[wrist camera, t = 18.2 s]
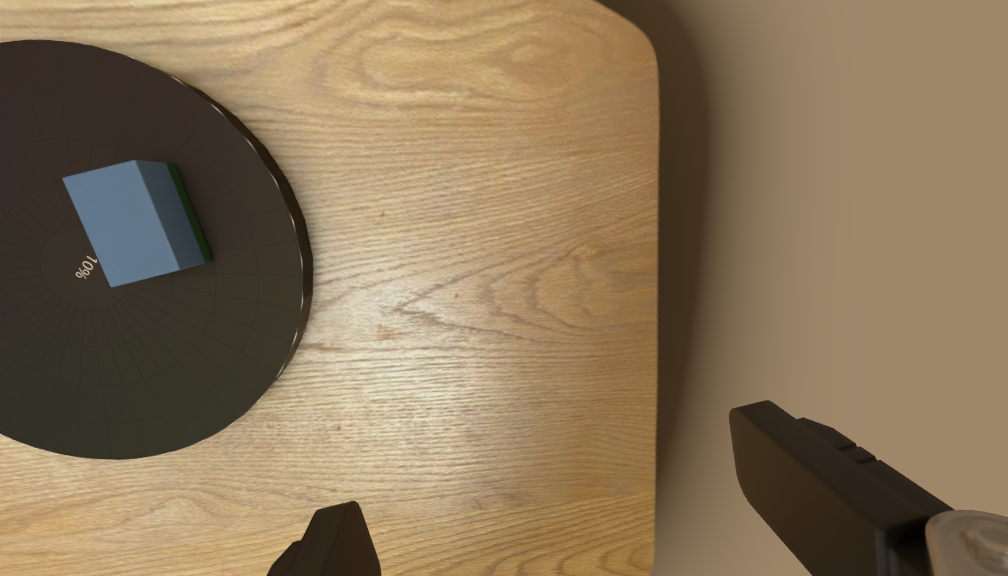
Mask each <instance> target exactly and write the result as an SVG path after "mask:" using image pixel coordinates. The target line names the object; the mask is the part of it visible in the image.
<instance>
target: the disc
mask: <svg viewBox="0 0 1008 576" xmlns="http://www.w3.org/2000/svg"><path fill="white" fill-rule="evenodd" d="M131 160H142V161H152V162H163V163H175V165H176V167H177V170H178V172H179V175H180V177H181V180H182V182H183V185H184V188H185V190H186V193H187V195H188V198H189V200H190V203H191V205H192V208H193V211H194V213H195V216H196V218H197V221H198V223H199V226H200V228H201V231H202V234H203V236H204V239H205V241H206V244H207V246H208V249H209V251H210V254H211V257H212V259H213V261H212V262H208V263H204V264H200V265H197V266H193V267H190V268H186V269H182V270H178V271H175V272H171V273H167V274H163V275H159V276H155V277H151V278H147V279H143V280H139V281H135V282H132V283H128V284H124V285H120V286H116V287H111V286H110V284H109V282H108V280H107V278H106V275H105V273H104V271H103V269H102V266H101V264H100V262H99V260H98V257H97V255H96V253H95V251H94V248H93V246H92V244H91V242H90V240H89V237H88V235H87V233H86V231H85V228H84V226H83V224H82V222H81V219H80V217H79V215H78V213H77V210H76V208H75V206H74V204H73V201H72V199H71V197H70V195H69V192H68V190H67V188H66V186H65V183H64V181H63V178H64V177H67V176H71V175H75V174H79V173H83V172H87V171H91V170H95V169H99V168H103V167H107V166H111V165H115V164H119V163H123V162H127V161H131ZM312 296H313V257H312V252H311V248H310V243H309V238H308V233H307V229H306V224H305V220H304V217H303V215H302V213H301V210H300V208H299V205H298V203H297V201H296V198H295V196H294V194H293V191H292V189H291V186H290V184H289V182H288V181H287V179H286V178H285V176H284V175H283V173H282V172H281V170H280V169H279V167H278V166H277V164H276V163H275V161H274V159H273V158H272V156H271V155H270V153H269V152H268V150H267V149H266V148H265V147H264V146H263V144H262V143H261V142H260V141H259V140H258V139H257V138H256V137H255V136H254V135H253V134H252V133H251V132H250V131H249V130H248V129H247V128H246V127H245V125H244V124H243V123H242V122H241V121H240V120H239V119H238V118H237V117H236V116H235V115H233V114H232V113H231V112H229V111H228V110H226V109H225V108H224V107H222V106H221V105H220V104H218V103H217V102H216V101H214V100H213V99H212V98H210V97H209V96H208V95H206V94H205V93H204V92H202V91H201V90H199V89H197V88H195V87H193V86H191V85H189V84H187V83H185V82H183V81H181V80H179V79H177V78H175V77H173V76H171V75H169V74H167V73H165V72H163V71H161V70H159V69H156V68H154V67H151V66H149V65H147V64H145V63H143V62H141V61H139V60H137V59H135V58H133V57H130V56H126V55H123V54H119V53H116V52H112V51H109V50H105V49H102V48H98V47H95V46H92V45H88V44H85V43H74V42H63V41H53V40H42V39H30V40H21V41H12V42H3V43H0V434H1V435H3V436H5V437H7V438H10V439H13V440H16V441H18V442H21V443H24V444H27V445H30V446H33V447H35V448H38V449H41V450H44V451H48V452H53V453H58V454H64V455H69V456H74V457H80V458H85V459H115V460H129V459H136V458H143V457H149V456H156V455H163V454H167V453H170V452H173V451H176V450H179V449H182V448H185V447H188V446H191V445H194V444H197V443H200V442H202V441H204V440H206V439H207V438H209V437H211V436H213V435H214V434H216V433H218V432H220V431H221V430H223V429H225V428H227V427H228V426H230V425H232V424H233V423H235V422H236V421H237V420H238V419H239V418H240V417H241V416H242V415H244V414H245V413H246V412H247V411H248V410H249V409H250V408H251V407H253V406H254V405H255V404H256V403H257V402H258V401H259V400H260V399H261V398H262V396H263V395H264V394H265V392H266V391H267V390H268V389H269V388H270V387H271V386H272V385H273V384H274V383H275V381H276V380H277V379H278V377H279V376H280V375H281V373H282V372H283V371H284V369H285V368H286V367H287V365H288V364H289V363H290V361H291V360H292V358H293V356H294V354H295V351H296V349H297V347H298V345H299V342H300V340H301V338H302V336H303V333H304V331H305V329H306V325H307V320H308V315H309V310H310V306H311V301H312Z"/></svg>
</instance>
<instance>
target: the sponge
mask: <svg viewBox="0 0 1008 576" xmlns="http://www.w3.org/2000/svg"><path fill="white" fill-rule="evenodd" d="M63 181H64V183H65V186H66V188H67V190H68V192H69V195H70V197H71V199H72V201H73V204H74V206H75V208H76V210H77V213H78V215H79V217H80V219H81V222H82V224H83V226H84V228H85V231H86V233H87V235H88V237H89V240H90V242H91V244H92V246H93V248H94V251H95V253H96V255H97V257H98V260H99V262H100V264H101V266H102V269H103V271H104V273H105V275H106V278H107V280H108V282H109V284H110V286H111V287H116V286H120V285H124V284H128V283H132V282H135V281H139V280H143V279H147V278H151V277H155V276H159V275H163V274H167V273H171V272H175V271H178V270H182V269H186V268H190V267H193V266H197V265H200V264H204V263H208V262H212V261H213V259H212V257H211V254H210V251H209V249H208V246H207V244H206V241H205V239H204V236H203V234H202V231H201V228H200V226H199V223H198V221H197V218H196V216H195V213H194V211H193V208H192V205H191V203H190V200H189V198H188V195H187V193H186V190H185V188H184V185H183V182H182V180H181V177H180V175H179V172H178V170H177V167H176V165H175V163H163V162H152V161H142V160H131V161H127V162H123V163H119V164H115V165H111V166H107V167H103V168H99V169H95V170H91V171H87V172H83V173H79V174H75V175H71V176H67V177H64V178H63Z"/></svg>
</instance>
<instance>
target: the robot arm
mask: <svg viewBox="0 0 1008 576" xmlns="http://www.w3.org/2000/svg"><path fill="white" fill-rule="evenodd" d="M729 422H730V429H731V437H732V444H733V452H734V459H735V466H736V473H737V477H738V481H739V484H740V486H741V489H742V491H743V493H744V495H745V497H746V498H747V500H748V502H749V503H750V504H751V506H752V507H753V508H754V509H755V510H756V511H757V513H758V514H759V515H760V516H761V517H762V518H763V519H764V521H765V522H766V523H767V524H768V525H769V526H770V527H771V529H772V530H773V531H774V532H775V533H776V534H777V536H778V537H779V538H780V539H781V540H782V541H783V542H784V544H785V545H786V546H787V547H788V548H789V549H790V550H791V552H792V553H793V554H794V555H795V556H796V557H797V559H798V560H799V561H800V562H801V563H802V564H803V565H804V567H805V568H806V569H807V570H808V571H809V572H810V573H811V575H812V576H1008V517H1004V516H1000V515H997V514H992V513H987V512H981V511H973V510H954V509H953V508H951V507H950V506H948V505H947V504H945V503H944V502H942V501H941V500H939V499H938V498H936V497H935V496H933V495H932V494H930V493H929V492H927V491H926V490H924V489H923V488H921V487H920V486H918V485H917V484H916V483H914V482H913V481H911V480H909V479H908V478H906V477H905V476H904V475H902V474H901V473H899V472H898V471H896V470H894V469H893V468H892V467H890V466H888V465H887V464H886V463H884V462H883V461H881V460H878V461H877V460H876V458H875V456H874V455H872V454H871V453H869V452H868V451H866V450H865V449H863V448H862V447H857V446H856V443H854V442H853V441H851V440H850V439H848V438H847V437H845V436H844V435H842V434H841V433H839V432H838V431H836V430H835V429H833V428H831V427H829V426H826V425H823V424H820V423H817V422H814V421H812V420H809V419H806V418H800V419H795V418H794V417H792V416H791V415H790V414H788V413H787V412H785V411H784V410H783V409H781V408H780V407H778V406H777V405H776V404H774V403H773V402H771V401H768V400H766V401H761V402H757V403H753V404H749V405H745V406H741V407H737V408H733V409H731V411H730V413H729ZM267 576H381V569H380V563H379V560H378V557H377V554H376V551H375V548H374V545H373V542H372V539H371V537H370V534H369V531H368V528H367V525H366V522H365V519H364V516H363V514H362V511H361V508H360V506H359V504H358V503H357V502H356V501H350V502H346V503H342V504H338V505H334V506H330V507H326V508H322V509H318V510H317V511H316V512H315V514H314V515H313V517H312V519H311V521H310V523H309V525H308V528H307V530H306V532H305V534H304V536H303V538H302V540H300V541H296V542H293V543H292V544H291V545H290V546H289V547H288V548H287V549H286V551H285V552H284V553H283V554H282V555H281V556H280V557H279V558H278V559H277V560H276V561H275V562H274V564H273V565H272V566H271V568H270V570H269V572H268V574H267Z"/></svg>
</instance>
